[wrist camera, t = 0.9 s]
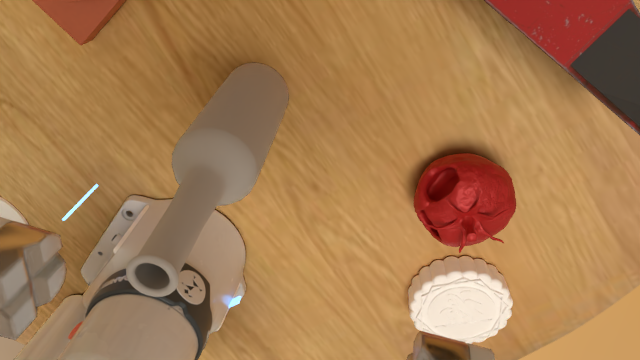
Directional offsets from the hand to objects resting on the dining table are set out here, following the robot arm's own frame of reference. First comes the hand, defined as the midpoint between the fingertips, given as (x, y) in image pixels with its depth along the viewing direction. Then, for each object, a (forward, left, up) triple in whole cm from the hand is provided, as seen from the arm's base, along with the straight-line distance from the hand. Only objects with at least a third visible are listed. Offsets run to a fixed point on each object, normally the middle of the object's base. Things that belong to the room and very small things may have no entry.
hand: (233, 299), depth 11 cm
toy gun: (+13, -10, -39) cm, 42 cm away
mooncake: (-11, -36, -39) cm, 54 cm away
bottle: (-12, -2, -39) cm, 40 cm away
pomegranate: (-2, -23, -39) cm, 45 cm away
